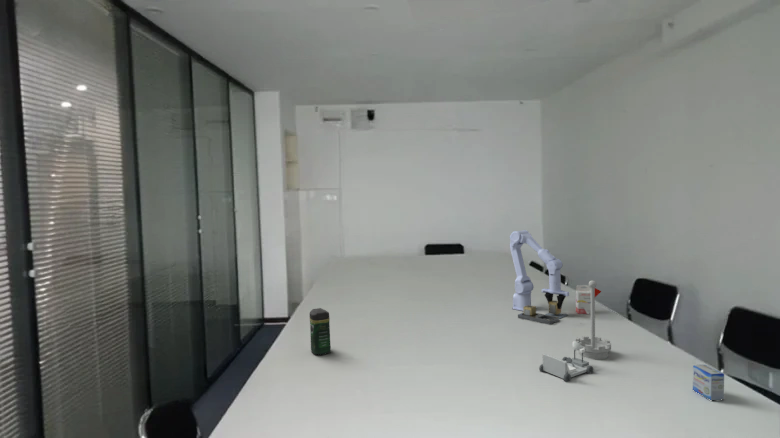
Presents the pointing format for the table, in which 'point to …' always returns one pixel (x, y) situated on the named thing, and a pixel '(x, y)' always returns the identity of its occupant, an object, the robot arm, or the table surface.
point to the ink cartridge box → (583, 299)
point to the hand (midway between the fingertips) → (555, 307)
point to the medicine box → (708, 382)
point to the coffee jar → (320, 331)
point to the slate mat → (557, 315)
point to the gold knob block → (554, 307)
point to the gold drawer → (530, 310)
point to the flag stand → (595, 344)
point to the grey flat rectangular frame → (540, 318)
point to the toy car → (566, 365)
